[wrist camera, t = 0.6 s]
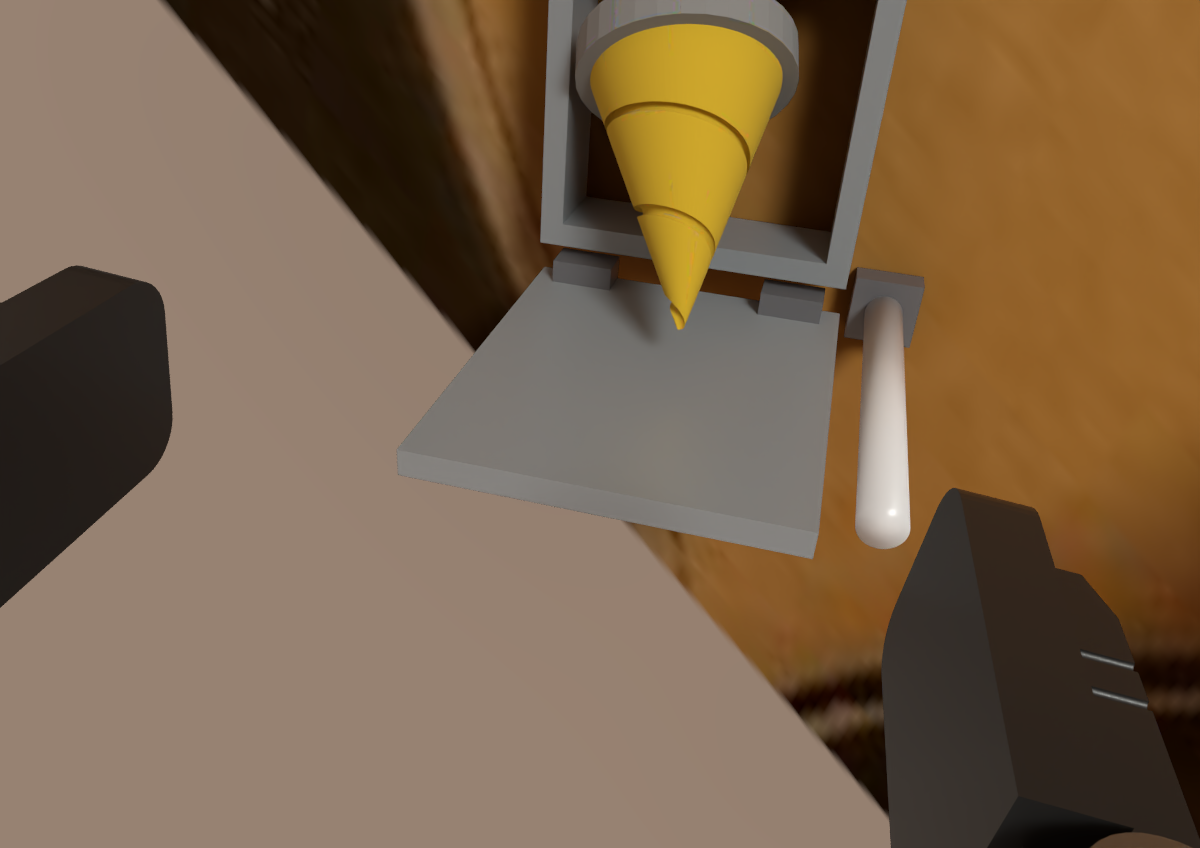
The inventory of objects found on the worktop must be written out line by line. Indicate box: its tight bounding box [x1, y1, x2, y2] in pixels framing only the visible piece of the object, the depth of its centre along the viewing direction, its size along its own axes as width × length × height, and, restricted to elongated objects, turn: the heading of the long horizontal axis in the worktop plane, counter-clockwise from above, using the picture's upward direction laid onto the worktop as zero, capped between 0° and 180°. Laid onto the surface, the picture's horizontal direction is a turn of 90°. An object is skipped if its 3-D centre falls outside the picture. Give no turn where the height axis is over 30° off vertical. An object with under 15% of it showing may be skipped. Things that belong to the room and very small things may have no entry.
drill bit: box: [575, 0, 799, 330], centre depth 23 cm, size 5×5×10 cm
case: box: [397, 0, 925, 559], centre depth 21 cm, size 10×10×12 cm
